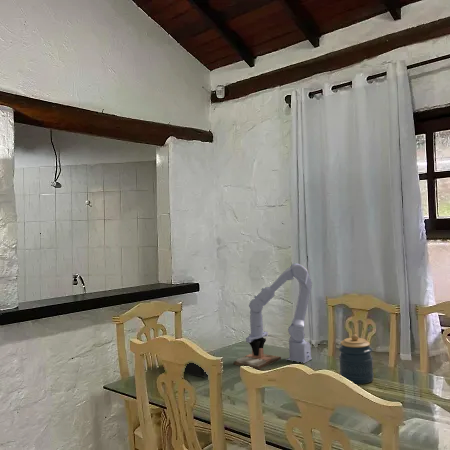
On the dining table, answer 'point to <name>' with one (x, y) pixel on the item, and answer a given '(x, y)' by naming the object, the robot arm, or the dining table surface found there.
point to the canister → (356, 360)
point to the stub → (260, 356)
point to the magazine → (195, 370)
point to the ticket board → (256, 361)
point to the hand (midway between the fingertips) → (257, 354)
